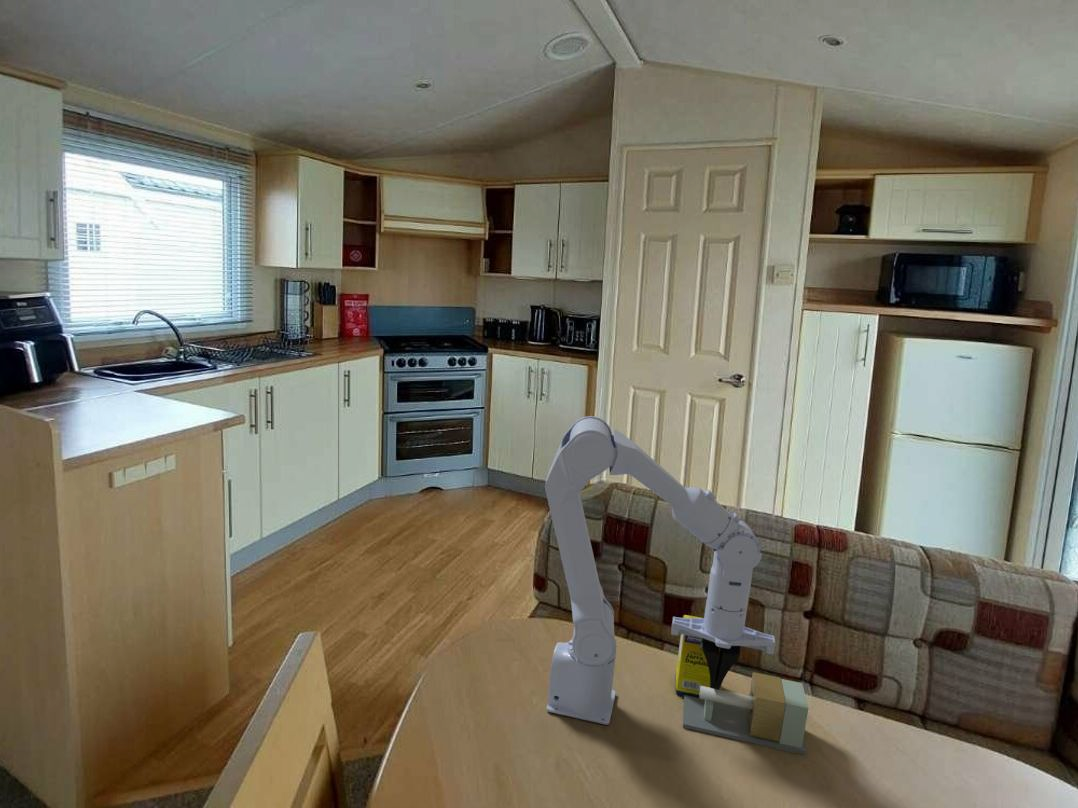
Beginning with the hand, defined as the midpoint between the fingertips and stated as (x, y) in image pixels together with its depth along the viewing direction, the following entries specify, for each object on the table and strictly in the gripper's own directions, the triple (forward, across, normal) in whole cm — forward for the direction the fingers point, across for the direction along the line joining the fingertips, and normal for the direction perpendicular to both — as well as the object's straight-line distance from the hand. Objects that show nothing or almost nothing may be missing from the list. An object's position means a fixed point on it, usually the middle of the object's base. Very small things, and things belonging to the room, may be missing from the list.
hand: (714, 685), depth 97 cm
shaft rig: (+6, +5, 0) cm, 7 cm away
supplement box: (+6, -2, +7) cm, 9 cm away
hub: (+6, +8, 0) cm, 9 cm away
